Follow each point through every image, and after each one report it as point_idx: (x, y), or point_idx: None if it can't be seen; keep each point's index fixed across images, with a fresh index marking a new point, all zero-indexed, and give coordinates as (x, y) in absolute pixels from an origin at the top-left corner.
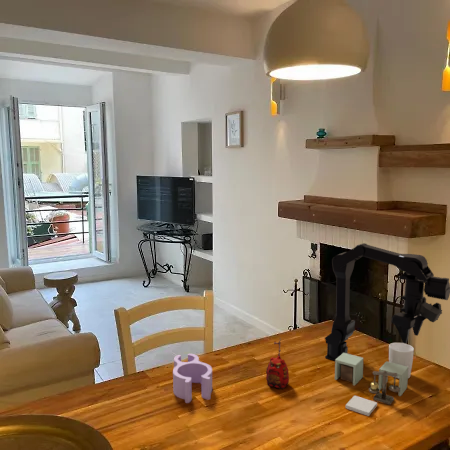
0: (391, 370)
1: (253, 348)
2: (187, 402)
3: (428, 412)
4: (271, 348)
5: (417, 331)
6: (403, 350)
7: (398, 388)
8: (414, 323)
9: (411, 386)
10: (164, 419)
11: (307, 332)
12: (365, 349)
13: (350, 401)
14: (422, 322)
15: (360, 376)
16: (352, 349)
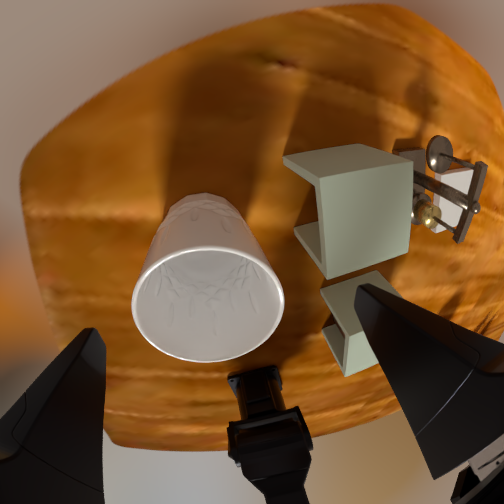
0: (399, 213)
1: (330, 426)
2: (481, 334)
3: (385, 44)
4: (312, 424)
5: (84, 362)
6: (151, 302)
7: (439, 142)
8: (86, 449)
9: (261, 148)
10: (501, 316)
11: (196, 444)
12: (143, 378)
13: (457, 222)
14: (9, 429)
15: (342, 289)
16: (176, 390)
